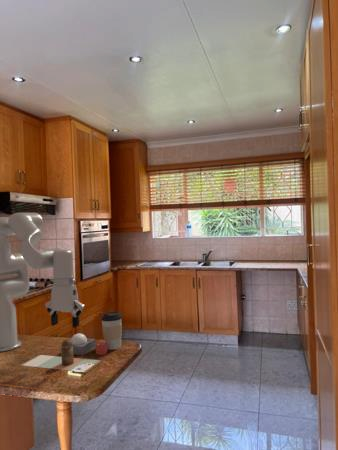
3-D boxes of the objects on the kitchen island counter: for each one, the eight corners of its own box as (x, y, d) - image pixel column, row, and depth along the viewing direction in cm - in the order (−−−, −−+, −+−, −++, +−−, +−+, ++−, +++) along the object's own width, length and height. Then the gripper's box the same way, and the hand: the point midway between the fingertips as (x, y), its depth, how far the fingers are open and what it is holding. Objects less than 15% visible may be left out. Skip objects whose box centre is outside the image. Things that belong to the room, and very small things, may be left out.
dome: (67, 352, 149) (66, 335, 149) (77, 346, 156) (76, 330, 156) (81, 353, 147) (80, 336, 147) (90, 347, 153) (89, 331, 153)
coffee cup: (114, 342, 161) (112, 309, 161) (127, 345, 155) (126, 311, 155) (98, 348, 154) (96, 313, 154) (112, 352, 148) (110, 316, 148)
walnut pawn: (59, 365, 135) (58, 341, 135) (66, 360, 139) (65, 337, 139) (69, 366, 134) (67, 342, 134) (76, 361, 138) (74, 338, 138)
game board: (19, 366, 138) (19, 365, 138) (39, 356, 148) (39, 354, 148) (85, 373, 127) (85, 372, 127) (101, 362, 138) (101, 360, 138)
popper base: (62, 354, 148) (61, 345, 148) (76, 346, 158) (75, 337, 158) (82, 356, 145) (82, 346, 145) (95, 348, 154) (95, 339, 154)
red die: (96, 355, 145) (95, 345, 145) (97, 351, 149) (97, 342, 149) (105, 354, 145) (105, 344, 145) (107, 351, 149) (106, 341, 149)
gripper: (88, 280, 137) (89, 324, 137) (51, 279, 143) (53, 321, 143) (77, 284, 130) (78, 330, 130) (38, 282, 136) (40, 326, 136)
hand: (65, 325), depth 137 cm, fingers open, 9 cm apart
